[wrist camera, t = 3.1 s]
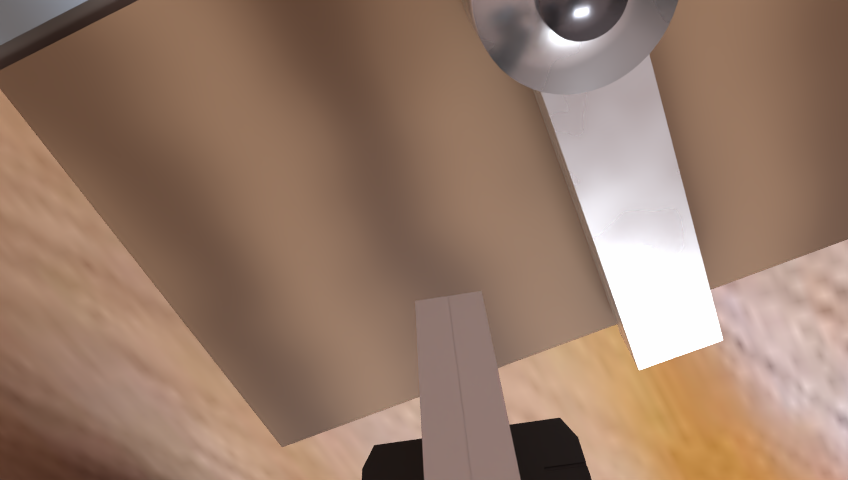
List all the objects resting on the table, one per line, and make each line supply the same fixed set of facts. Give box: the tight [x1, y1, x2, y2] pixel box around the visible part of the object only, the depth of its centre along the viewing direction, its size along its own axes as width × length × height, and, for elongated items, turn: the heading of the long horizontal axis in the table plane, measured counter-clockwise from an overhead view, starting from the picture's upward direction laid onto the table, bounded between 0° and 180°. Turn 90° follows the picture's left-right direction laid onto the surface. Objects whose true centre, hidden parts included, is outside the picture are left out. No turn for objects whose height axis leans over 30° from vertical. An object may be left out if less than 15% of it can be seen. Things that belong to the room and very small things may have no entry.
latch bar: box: [462, 0, 723, 370], centre depth 17 cm, size 14×4×3 cm, turn 23°
